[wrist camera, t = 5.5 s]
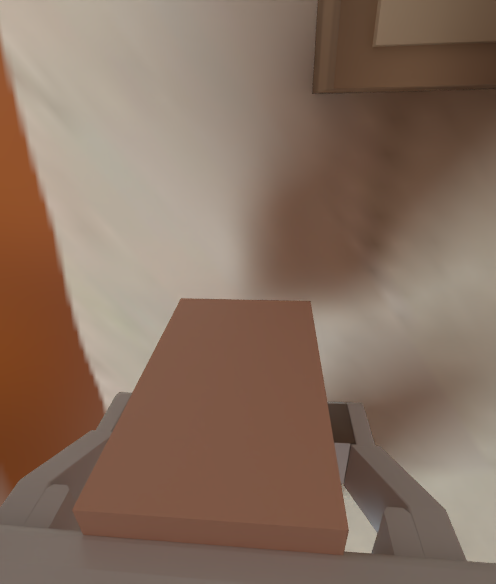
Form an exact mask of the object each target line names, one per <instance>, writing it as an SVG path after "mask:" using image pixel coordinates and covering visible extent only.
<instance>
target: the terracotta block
mask: <svg viewBox="0 0 496 584" xmlns="http://www.w3.org/2000/svg"><path fill="white" fill-rule="evenodd" d="M72 511H73V513H74V516H75V518H76V520H77V522H78V524H79V527H80V529H81V531H82V533H83V535H93V536H105V537H118V538H130V539H143V540H156V541H169V542H182V543H194V544H207V545H220V546H233V547H245V548H258V549H270V550H283V551H296V552H308V553H321V554H333V555H343V554H344V550H345V545H346V540H347V536H348V531H349V529H348V523H347V517H346V511H345V505H344V499H343V493H342V487H341V481H340V475H339V469H338V463H337V457H336V451H335V445H334V439H333V433H332V427H331V421H330V415H329V409H328V403H327V398H326V392H325V386H324V380H323V374H322V368H321V362H320V356H319V350H318V344H317V338H316V332H315V326H314V320H313V314H312V308H311V302H310V301H279V300H231V299H183V298H181V299H180V301H179V303H178V305H177V307H176V309H175V311H174V313H173V315H172V317H171V319H170V321H169V323H168V325H167V327H166V329H165V331H164V332H163V334H162V336H161V338H160V340H159V342H158V344H157V346H156V348H155V350H154V352H153V354H152V356H151V358H150V360H149V362H148V364H147V365H146V367H145V369H144V371H143V373H142V375H141V377H140V379H139V381H138V383H137V385H136V387H135V389H134V391H133V393H132V395H131V397H130V399H129V400H128V402H127V404H126V406H125V408H124V410H123V412H122V414H121V416H120V418H119V420H118V422H117V424H116V426H115V428H114V430H113V432H112V433H111V435H110V437H109V439H108V441H107V443H106V445H105V447H104V449H103V451H102V453H101V455H100V457H99V459H98V461H97V463H96V465H95V466H94V468H93V470H92V472H91V474H90V476H89V478H88V480H87V482H86V484H85V486H84V488H83V490H82V492H81V494H80V496H79V498H78V499H77V501H76V503H75V505H74V507H73V509H72Z"/></svg>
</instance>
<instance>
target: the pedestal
mask: <svg viewBox="0 0 496 584" xmlns="http://www.w3.org/2000/svg"><path fill="white" fill-rule="evenodd" d="M495 88H496V0H318V7H317V24H316V41H315V58H314V75H313V92H312V94H317V93H353V92H388V91H424V90H459V89H495Z"/></svg>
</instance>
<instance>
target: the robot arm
mask: <svg viewBox="0 0 496 584" xmlns="http://www.w3.org/2000/svg"><path fill="white" fill-rule="evenodd" d="M131 395H132V393H128V392H119V393H118V394H117V395H116V396H115V398H114V399H113V401H112V403H111V405H110V406H109V408H108V410H107V412H106V413H105V415H104V417H103V419H102V420H101V422H100V424H99V426H98V427H97V429H96V431H92V430H91V431H90V432H89V433H87V434H85V435H84V436H83V437H81V438H80V439H78V440H77V441H75V442H74V443H73V444H71V445H70V446H68V447H67V448H66V449H64V450H63V451H61V452H60V453H58V454H57V455H55V456H54V457H53V458H51V459H50V460H48V461H47V462H45V463H44V464H42V465H41V466H39V467H38V468H37V469H35V470H34V471H32V472H31V473H29V474H28V475H26V476H25V477H24V478H22V479H21V480H20V481H19V482H18V483H17V485H16V486H15V487H14V489H13V490H12V492H11V493H10V495H9V496H8V497H7V499H6V500H5V502H4V503H3V504H2V506H1V507H0V584H496V563H485V562H472V561H467V560H466V558H465V555H464V553H463V550H462V548H461V546H460V543H459V541H458V538H457V536H456V534H455V531H454V529H453V527H452V524H451V522H450V519H449V517H448V515H447V512H446V510H445V509H444V508H443V507H442V506H441V505H440V504H439V503H438V502H437V501H436V500H435V499H434V498H433V497H432V496H431V495H430V494H429V493H428V492H427V491H426V490H425V489H424V488H423V487H422V486H421V485H420V484H419V483H418V482H417V481H415V480H414V479H413V478H412V477H411V476H410V475H409V474H408V473H407V472H406V471H405V470H404V469H403V468H402V467H401V466H400V465H399V464H398V463H397V462H396V461H395V460H394V459H393V458H392V457H391V456H390V455H389V454H388V453H387V452H386V451H385V450H384V449H383V448H382V447H380V446H375V443H374V440H373V437H372V433H371V430H370V426H369V423H368V419H367V416H366V413H365V409H364V406H363V404H362V403H353V402H346V403H345V402H327V403H328V409H329V415H330V421H331V427H332V433H333V439H334V445H335V451H336V457H337V463H338V469H339V475H340V481H341V484H344V486H345V488H346V489H347V490H348V492H349V493H350V495H351V496H352V498H353V499H354V500H355V502H356V503H357V505H358V506H359V508H360V509H361V510H362V512H363V513H364V515H365V516H366V517H367V519H368V520H369V522H370V523H371V525H372V526H373V527H374V529H375V530H376V532H377V537H376V540H375V543H374V547H373V550H372V553H371V554H370V553H357V552H344V554H343V555H333V554H321V553H308V552H296V551H283V550H270V549H258V548H245V547H233V546H220V545H207V544H194V543H182V542H169V541H156V540H143V539H130V538H118V537H105V536H93V535H83V533H82V531H81V529H80V527H79V524H78V522H77V520H76V518H75V516H74V513H73V511H72V509H73V507H74V505H75V503H76V501H77V499H78V498H79V496H80V494H81V492H82V490H83V488H84V486H85V484H86V482H87V480H88V478H89V476H90V474H91V472H92V470H93V468H94V466H95V465H96V463H97V461H98V459H99V457H100V455H101V453H102V451H103V449H104V447H105V445H106V443H107V441H108V439H109V437H110V435H111V433H112V432H113V430H114V428H115V426H116V424H117V422H118V420H119V418H120V416H121V414H122V412H123V410H124V408H125V406H126V404H127V402H128V400H129V399H130V397H131Z"/></svg>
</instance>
